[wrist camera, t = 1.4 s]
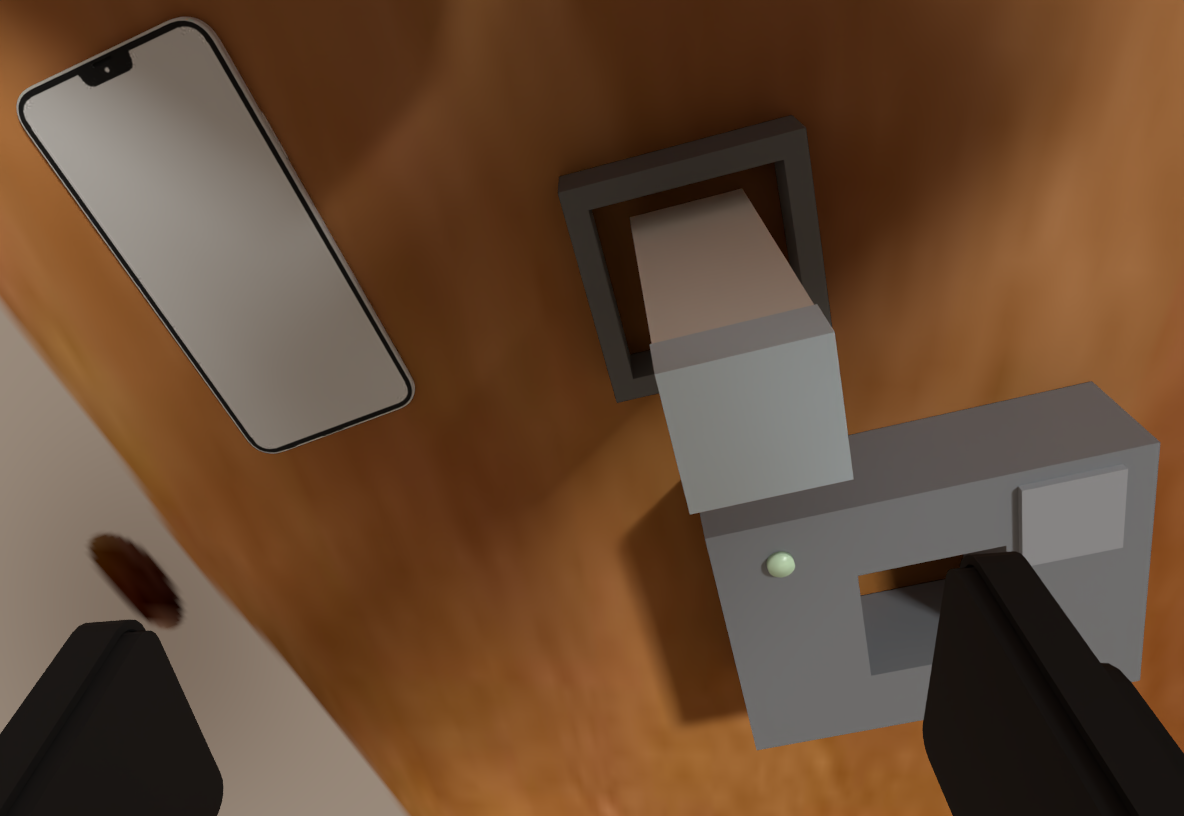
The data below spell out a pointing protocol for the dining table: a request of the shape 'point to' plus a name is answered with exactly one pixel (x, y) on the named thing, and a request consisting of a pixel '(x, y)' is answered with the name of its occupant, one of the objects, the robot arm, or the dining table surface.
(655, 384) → the dark square frame
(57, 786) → the robot arm
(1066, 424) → the port panel
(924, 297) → the dining table surface
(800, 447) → the plug
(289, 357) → the smartphone
